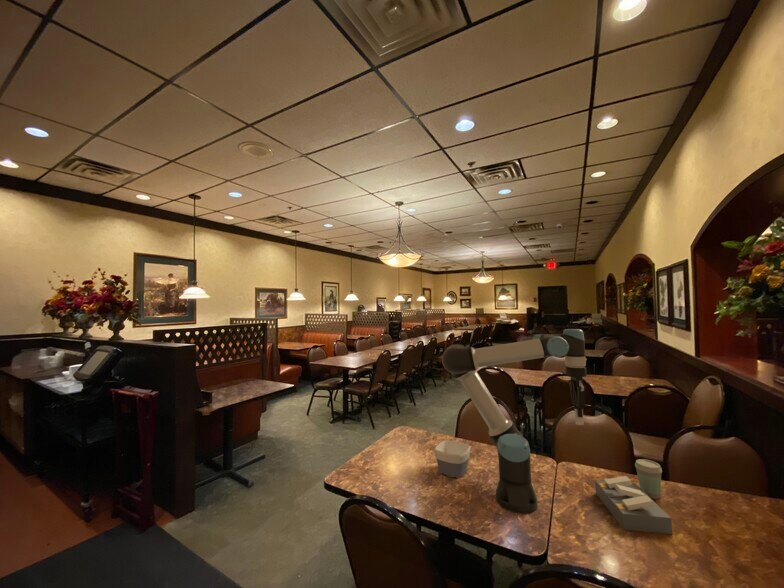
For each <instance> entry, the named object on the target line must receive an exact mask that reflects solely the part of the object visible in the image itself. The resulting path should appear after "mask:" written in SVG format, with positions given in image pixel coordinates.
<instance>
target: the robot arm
mask: <svg viewBox="0 0 784 588" xmlns="http://www.w3.org/2000/svg"><path fill="white" fill-rule="evenodd" d="M584 334H585V333H584V330H582V329H580V328H567V329H566V328H565V329H563V332H562V333H559V334H558V333H551V334H550V333H549V334H548V333H546V334H545V333H540V334H534V335H533V338H532V339H528V340H521V341H516V342H510V343H509V342H508V343H504V344H496V345H492V346H484V347H479V348H474V347H473V346H469V347H466V346H464V345H463V344H459V343H455V344H451V345H449V346H448V347H447V348H446V349H445V351H444V352H443V354H442V356H441V361H442V362H441V363H442V366H443V367H444V369H445V370H446V371H447V372H449V373H451V375H452V377H453V378H454V379H455V380H456V381H457V380H458V381H460V383H461V385H462V386H463V388H464V389H465V392H466V393H467V394H468V396H469V398H470V399H471V401H472V403H473V405H474V406H475V408H476V409H477V411H478V413H479V415H481V417H482V419H483V420H484V423H485V424H486V425H487V427H488V436H489V438H490V439H491V440H492V442H493V444H494V446H495V447H496V451H497V456H498V473H499V474H498V475H499V476H498V478H499V480H498V483H497V485H496V489H495V501H496V503H497V504H498V505H499V506H500V507H501V508H503V509H505V510H507V511H510V512H513V513H517V514H529V513H533V512H534V511H537V508H538V496H537V495H536V492H535V489H534V486H533V483H532V471H531V470H532V469H531V447H530V444H529V441H528V440H527V439H526V438H525V437H524V436H523V434H522V433H521V432H520V431H519V430H518V428H517V427H516V425H515V423H513V422H514V421H512V420H510V419H507V417H506V416H505V414H504V413H503V412H502V410H501V408H500V407H499V405H498V403H497V402H496V401H495V399H494V397H493V395H492V394H491V392H490V391H489V389H488V388H487V386H486V384H485V382H484V381H483V380H482V378H481V376H480V374H479V373H478V369H479V368H484V367H489V366H496V365H503V364H508V363H509V364H510V363H516V362H522V361H529V360H536V359H541V358H543V359H544V358H549V357H556V358H559V357H564V364H565V375H566V376H568V377H570V379H569V380H568V384H569V385H568V386H569V391H570V396H571V397H570V398H571V404H572V405H573V409H574V422H575V423H574V424H575V425H576V426H584V425H585V423H584V409H586V390H587V387H586V385H585V383H584V380H583V378H585V377H587V376H588V374H587V373H588V371H587V367H586V365H587V359H588V358H586V348H585V347H586V345H585V342H586V341H585V335H584Z"/></svg>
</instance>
